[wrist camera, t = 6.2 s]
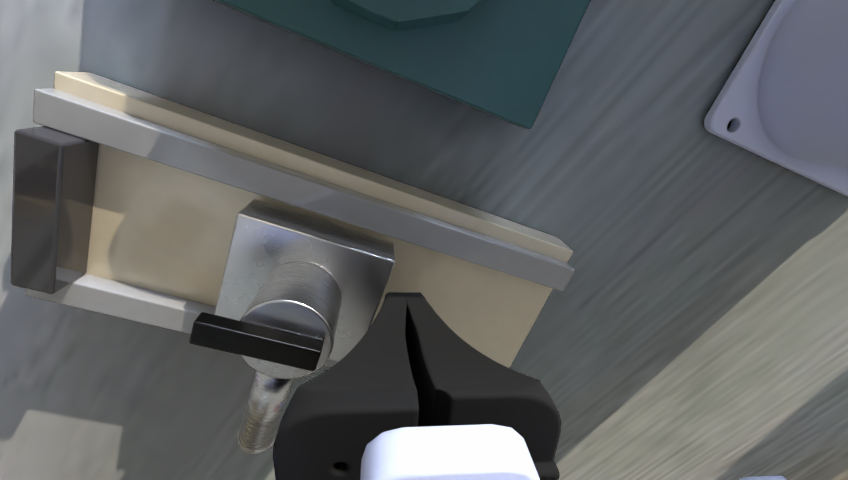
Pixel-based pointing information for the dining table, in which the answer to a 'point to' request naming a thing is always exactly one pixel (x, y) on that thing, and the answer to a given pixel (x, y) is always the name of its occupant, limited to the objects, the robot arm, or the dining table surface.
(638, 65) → the dining table surface
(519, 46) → the control block
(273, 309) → the tap
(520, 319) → the tap rail
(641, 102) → the dining table surface
